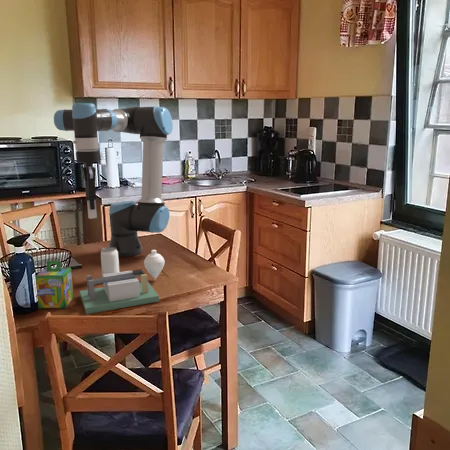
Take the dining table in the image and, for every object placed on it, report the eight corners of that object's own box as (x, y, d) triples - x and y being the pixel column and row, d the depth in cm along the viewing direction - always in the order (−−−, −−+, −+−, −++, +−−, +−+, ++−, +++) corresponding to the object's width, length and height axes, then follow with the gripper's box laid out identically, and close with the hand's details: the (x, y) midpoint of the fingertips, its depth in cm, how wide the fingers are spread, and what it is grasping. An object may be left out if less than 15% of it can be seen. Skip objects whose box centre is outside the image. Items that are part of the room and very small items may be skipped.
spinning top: (166, 282, 176) (165, 252, 173) (146, 285, 174) (144, 254, 171) (163, 276, 183) (162, 246, 180) (143, 278, 181) (142, 248, 178)
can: (123, 276, 183) (121, 247, 180) (113, 282, 177) (111, 252, 174) (108, 275, 185) (106, 245, 182) (99, 280, 179) (96, 250, 176)
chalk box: (38, 309, 154) (33, 266, 150) (47, 298, 163) (43, 257, 159) (66, 308, 154) (62, 266, 150) (74, 297, 163) (70, 257, 159)
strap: (88, 282, 158) (87, 278, 157) (142, 272, 165) (142, 268, 164) (89, 285, 155) (89, 281, 154) (144, 275, 162) (144, 271, 161)
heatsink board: (80, 296, 164) (78, 271, 162) (147, 285, 173) (146, 262, 171) (86, 314, 150) (83, 287, 148) (159, 301, 159) (157, 276, 157)
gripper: (73, 149, 163) (79, 215, 169) (77, 152, 152) (84, 223, 158) (95, 148, 166) (100, 213, 172) (101, 151, 155) (106, 220, 160)
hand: (92, 217), depth 165 cm, fingers closed
